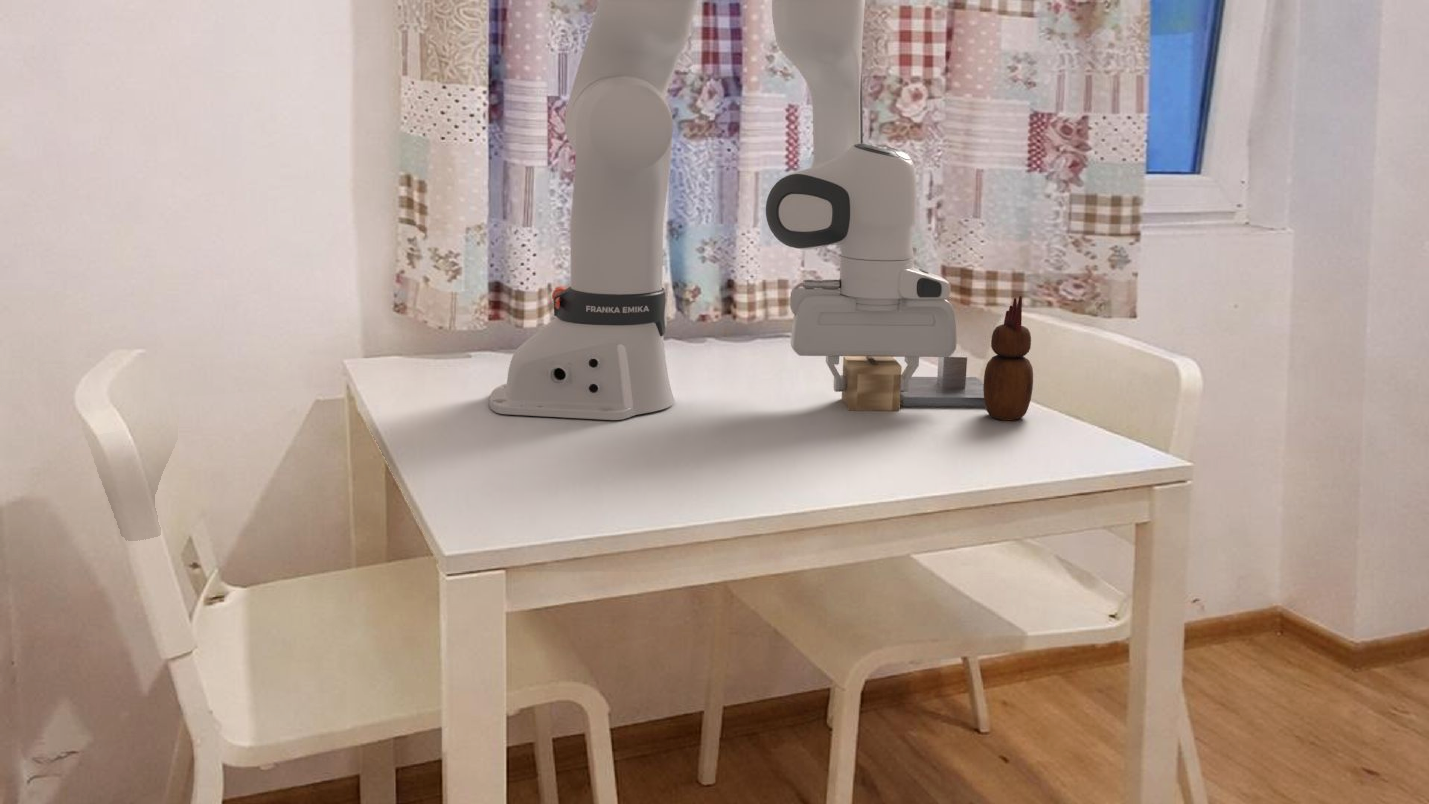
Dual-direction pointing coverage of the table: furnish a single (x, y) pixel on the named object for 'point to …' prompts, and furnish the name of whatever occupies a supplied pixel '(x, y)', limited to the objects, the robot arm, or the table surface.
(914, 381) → the plate
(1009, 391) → the wooden figurine
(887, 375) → the wooden coin bank
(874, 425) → the table surface
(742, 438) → the table surface
